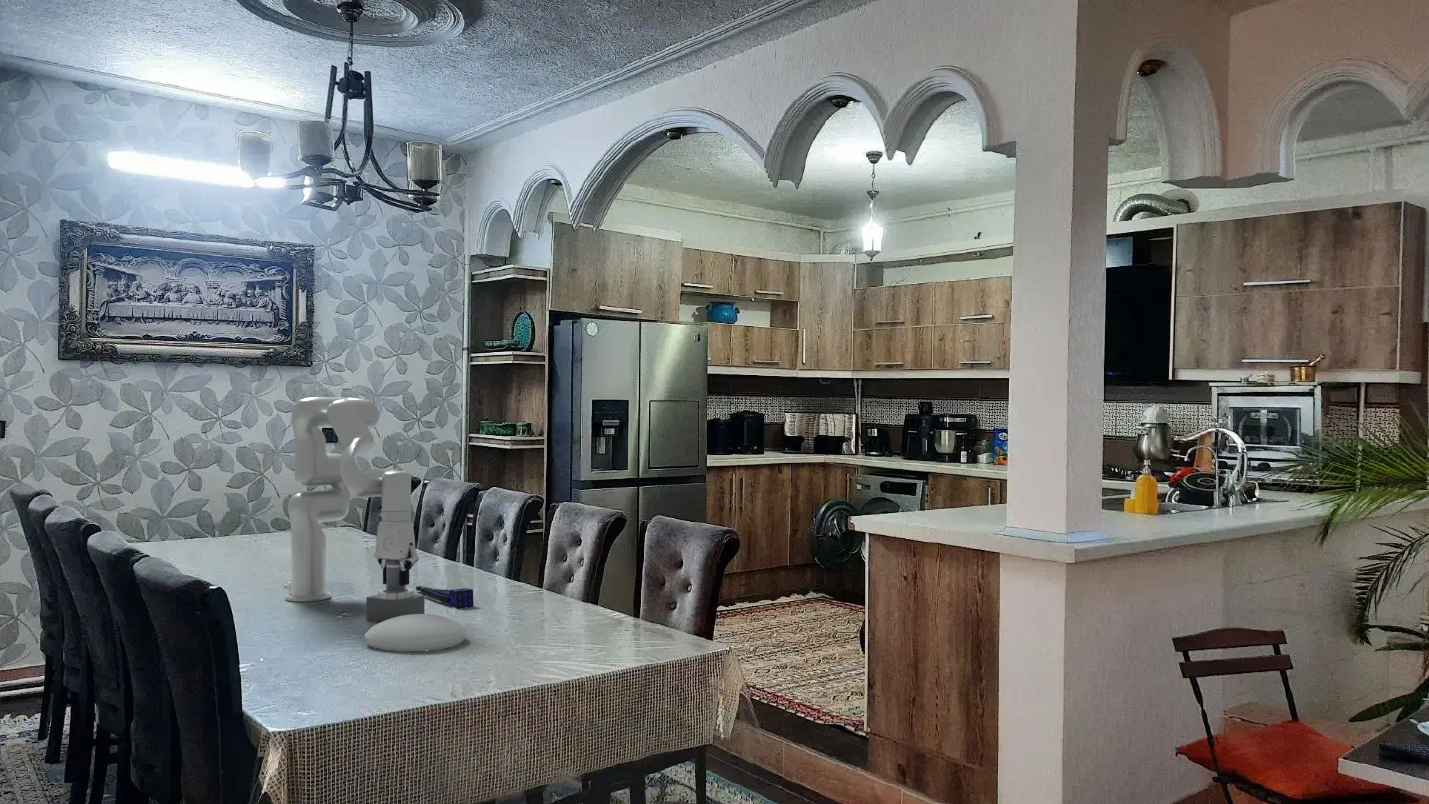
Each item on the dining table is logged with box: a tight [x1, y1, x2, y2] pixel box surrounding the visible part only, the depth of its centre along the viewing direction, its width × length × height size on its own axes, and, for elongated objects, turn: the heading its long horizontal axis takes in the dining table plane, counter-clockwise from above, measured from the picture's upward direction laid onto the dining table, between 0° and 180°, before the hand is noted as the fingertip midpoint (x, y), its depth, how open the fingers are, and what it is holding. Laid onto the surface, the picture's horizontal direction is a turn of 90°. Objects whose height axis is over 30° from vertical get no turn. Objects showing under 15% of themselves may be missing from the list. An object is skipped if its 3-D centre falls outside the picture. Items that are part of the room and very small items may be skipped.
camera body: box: [365, 587, 426, 623], centre depth 273 cm, size 12×9×8 cm
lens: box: [385, 559, 407, 591], centre depth 273 cm, size 5×5×8 cm
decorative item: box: [364, 613, 467, 652], centre depth 247 cm, size 24×7×20 cm
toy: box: [415, 585, 474, 610], centre depth 300 cm, size 8×5×30 cm
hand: (396, 583), depth 273 cm, fingers closed on lens, 5 cm apart
